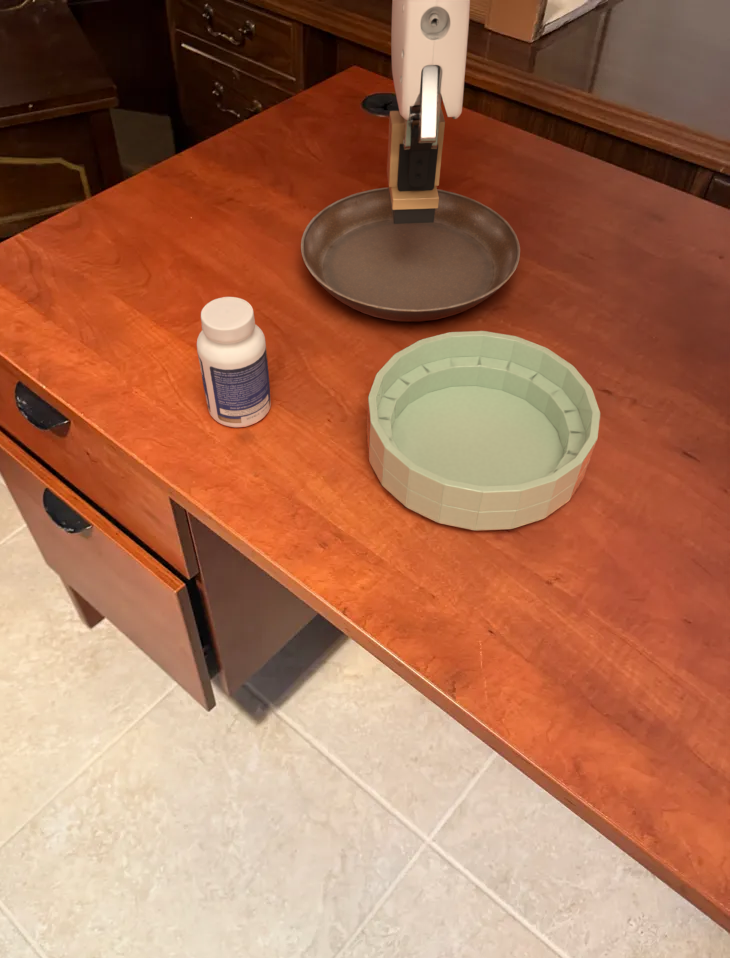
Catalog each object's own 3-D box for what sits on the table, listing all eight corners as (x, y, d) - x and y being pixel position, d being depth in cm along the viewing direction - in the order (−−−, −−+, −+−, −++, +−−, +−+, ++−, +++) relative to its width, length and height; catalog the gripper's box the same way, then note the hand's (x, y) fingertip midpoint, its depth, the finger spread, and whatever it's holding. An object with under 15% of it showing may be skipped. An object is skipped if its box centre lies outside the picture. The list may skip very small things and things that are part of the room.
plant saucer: (333, 200, 88) (333, 171, 86) (527, 227, 85) (533, 197, 82) (275, 319, 77) (272, 289, 74) (497, 357, 73) (503, 327, 70)
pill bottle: (284, 405, 70) (277, 310, 62) (238, 439, 67) (225, 345, 60) (240, 376, 72) (228, 281, 64) (194, 408, 70) (176, 313, 62)
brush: (383, 189, 77) (387, 100, 71) (430, 187, 77) (439, 98, 71) (389, 225, 73) (394, 135, 67) (438, 223, 73) (448, 133, 67)
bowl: (558, 373, 72) (571, 327, 68) (607, 530, 61) (625, 486, 57) (360, 381, 71) (361, 335, 67) (375, 539, 61) (378, 496, 57)
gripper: (504, -23, 54) (468, 231, 69) (469, -105, 63) (444, 133, 78) (389, -20, 54) (378, 234, 68) (371, -102, 63) (365, 136, 78)
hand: (413, 178), depth 73 cm, fingers closed on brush, 2 cm apart
